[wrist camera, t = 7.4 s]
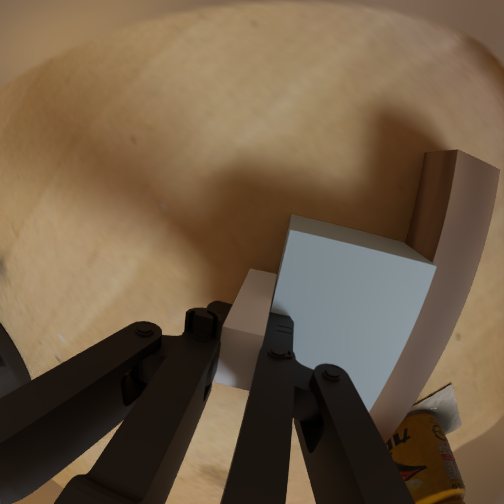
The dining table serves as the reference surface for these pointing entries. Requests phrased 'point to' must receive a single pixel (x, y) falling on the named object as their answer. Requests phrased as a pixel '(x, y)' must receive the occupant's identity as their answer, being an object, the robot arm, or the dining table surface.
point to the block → (350, 299)
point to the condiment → (429, 450)
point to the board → (439, 270)
